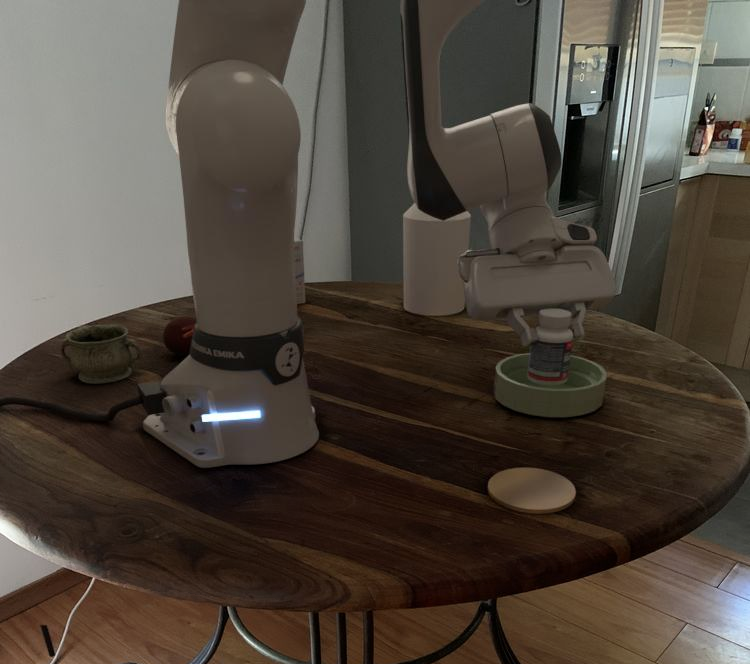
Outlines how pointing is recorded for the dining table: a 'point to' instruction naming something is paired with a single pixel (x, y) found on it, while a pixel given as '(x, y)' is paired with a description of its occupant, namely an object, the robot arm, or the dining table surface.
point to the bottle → (433, 262)
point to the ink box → (299, 270)
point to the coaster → (531, 490)
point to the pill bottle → (551, 348)
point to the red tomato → (179, 335)
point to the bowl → (550, 388)
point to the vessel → (101, 353)
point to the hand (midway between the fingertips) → (554, 341)
